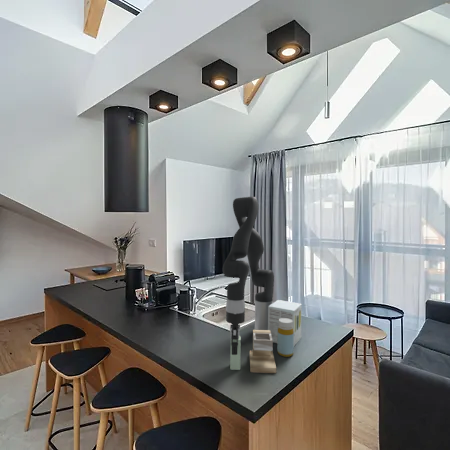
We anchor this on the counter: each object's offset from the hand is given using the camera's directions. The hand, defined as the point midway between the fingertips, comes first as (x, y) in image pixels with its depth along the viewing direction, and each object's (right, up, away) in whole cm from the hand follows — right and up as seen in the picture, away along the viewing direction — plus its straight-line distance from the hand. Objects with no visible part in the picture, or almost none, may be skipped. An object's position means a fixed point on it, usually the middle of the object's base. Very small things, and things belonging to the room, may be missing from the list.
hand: (234, 349), depth 116 cm
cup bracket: (+11, -7, +3) cm, 14 cm away
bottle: (+23, -7, +12) cm, 27 cm away
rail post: (0, -7, 0) cm, 7 cm away
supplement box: (+26, -7, +27) cm, 38 cm away
